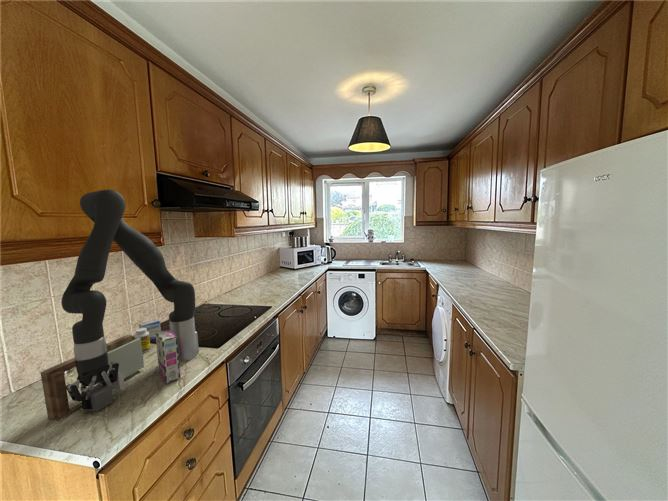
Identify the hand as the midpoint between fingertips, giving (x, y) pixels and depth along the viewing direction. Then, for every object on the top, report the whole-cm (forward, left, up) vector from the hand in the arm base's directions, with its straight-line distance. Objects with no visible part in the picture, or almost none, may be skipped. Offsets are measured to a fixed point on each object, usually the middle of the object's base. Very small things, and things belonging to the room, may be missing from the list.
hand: (98, 403), depth 86 cm
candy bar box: (-20, +8, -1) cm, 21 cm away
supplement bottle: (-33, -20, -1) cm, 38 cm away
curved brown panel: (-6, -7, -1) cm, 9 cm away
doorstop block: (0, 0, -1) cm, 1 cm away
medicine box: (-44, -28, -1) cm, 52 cm away
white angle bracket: (-13, -3, 0) cm, 13 cm away
